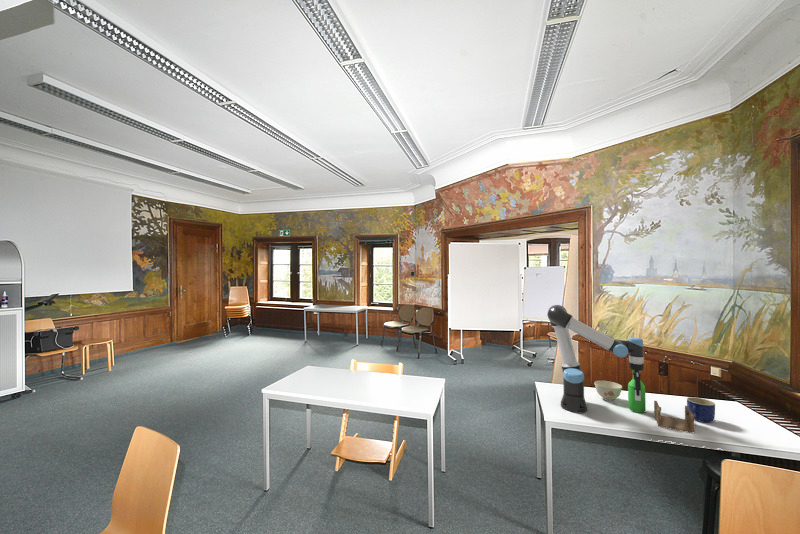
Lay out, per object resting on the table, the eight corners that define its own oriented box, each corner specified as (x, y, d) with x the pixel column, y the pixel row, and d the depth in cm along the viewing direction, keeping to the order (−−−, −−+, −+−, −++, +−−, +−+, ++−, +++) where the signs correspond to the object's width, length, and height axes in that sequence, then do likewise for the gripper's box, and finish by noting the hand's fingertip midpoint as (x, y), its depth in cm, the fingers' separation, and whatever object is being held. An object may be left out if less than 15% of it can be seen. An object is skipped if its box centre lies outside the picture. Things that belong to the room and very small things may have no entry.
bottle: (648, 414, 202) (648, 372, 203) (632, 412, 204) (632, 372, 204) (641, 408, 211) (640, 368, 211) (625, 407, 213) (625, 368, 213)
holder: (658, 426, 186) (658, 409, 186) (654, 415, 200) (654, 400, 200) (694, 433, 178) (694, 415, 178) (687, 421, 192) (687, 405, 192)
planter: (709, 426, 186) (709, 406, 187) (682, 417, 197) (682, 399, 198) (719, 421, 192) (719, 402, 192) (692, 413, 203) (692, 395, 203)
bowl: (591, 398, 227) (591, 384, 227) (598, 393, 238) (598, 379, 238) (618, 405, 215) (618, 390, 215) (625, 399, 226) (625, 384, 226)
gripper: (646, 368, 195) (646, 404, 195) (641, 359, 217) (642, 392, 216) (630, 366, 199) (631, 402, 199) (627, 357, 221) (628, 389, 220)
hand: (636, 397), depth 207 cm, fingers open, 13 cm apart
